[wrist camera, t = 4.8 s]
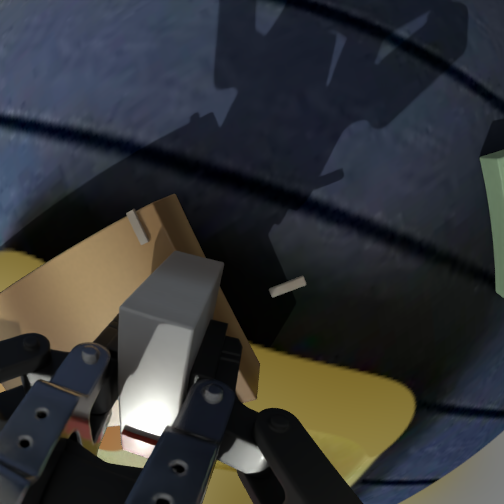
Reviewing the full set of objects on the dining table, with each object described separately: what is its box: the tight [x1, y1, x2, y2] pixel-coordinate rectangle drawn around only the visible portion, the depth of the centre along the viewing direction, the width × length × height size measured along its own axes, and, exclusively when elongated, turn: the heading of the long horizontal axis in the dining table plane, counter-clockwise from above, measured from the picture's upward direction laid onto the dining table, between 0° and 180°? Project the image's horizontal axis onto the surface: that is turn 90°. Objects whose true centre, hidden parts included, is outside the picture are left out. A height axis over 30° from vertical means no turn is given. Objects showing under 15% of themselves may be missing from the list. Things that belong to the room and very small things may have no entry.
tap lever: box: [118, 251, 224, 458], centre depth 11 cm, size 6×2×5 cm, turn 167°
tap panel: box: [0, 194, 306, 427], centre depth 16 cm, size 22×10×3 cm, turn 114°
